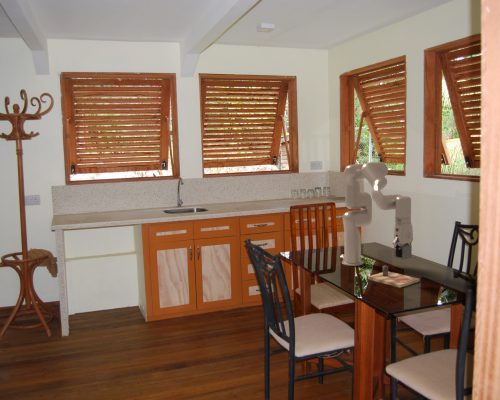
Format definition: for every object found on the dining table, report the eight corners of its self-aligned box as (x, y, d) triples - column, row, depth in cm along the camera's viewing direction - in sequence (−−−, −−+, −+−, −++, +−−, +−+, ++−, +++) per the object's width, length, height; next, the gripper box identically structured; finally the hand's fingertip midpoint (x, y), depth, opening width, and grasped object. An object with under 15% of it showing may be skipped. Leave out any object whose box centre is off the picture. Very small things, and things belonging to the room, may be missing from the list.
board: (367, 279, 255) (368, 267, 254) (387, 273, 265) (387, 262, 264) (400, 287, 239) (400, 274, 238) (419, 281, 249) (419, 269, 248)
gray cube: (404, 259, 242) (404, 246, 241) (394, 257, 246) (394, 245, 246) (411, 257, 245) (411, 245, 244) (401, 255, 250) (401, 243, 249)
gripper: (398, 223, 236) (398, 259, 238) (419, 219, 246) (419, 254, 248) (386, 222, 242) (386, 257, 244) (407, 218, 252) (406, 252, 254)
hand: (402, 255), depth 246 cm, fingers closed on gray cube, 6 cm apart
